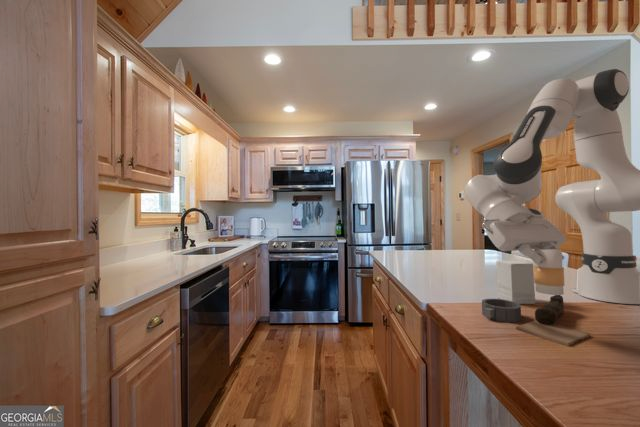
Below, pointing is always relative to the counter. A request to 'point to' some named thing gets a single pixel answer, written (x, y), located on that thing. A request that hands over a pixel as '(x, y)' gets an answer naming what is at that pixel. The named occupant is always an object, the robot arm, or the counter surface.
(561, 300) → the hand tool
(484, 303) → the collar
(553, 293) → the two-tone cylinder
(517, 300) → the supplement box
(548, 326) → the walnut board
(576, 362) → the counter surface
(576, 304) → the counter surface
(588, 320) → the counter surface
